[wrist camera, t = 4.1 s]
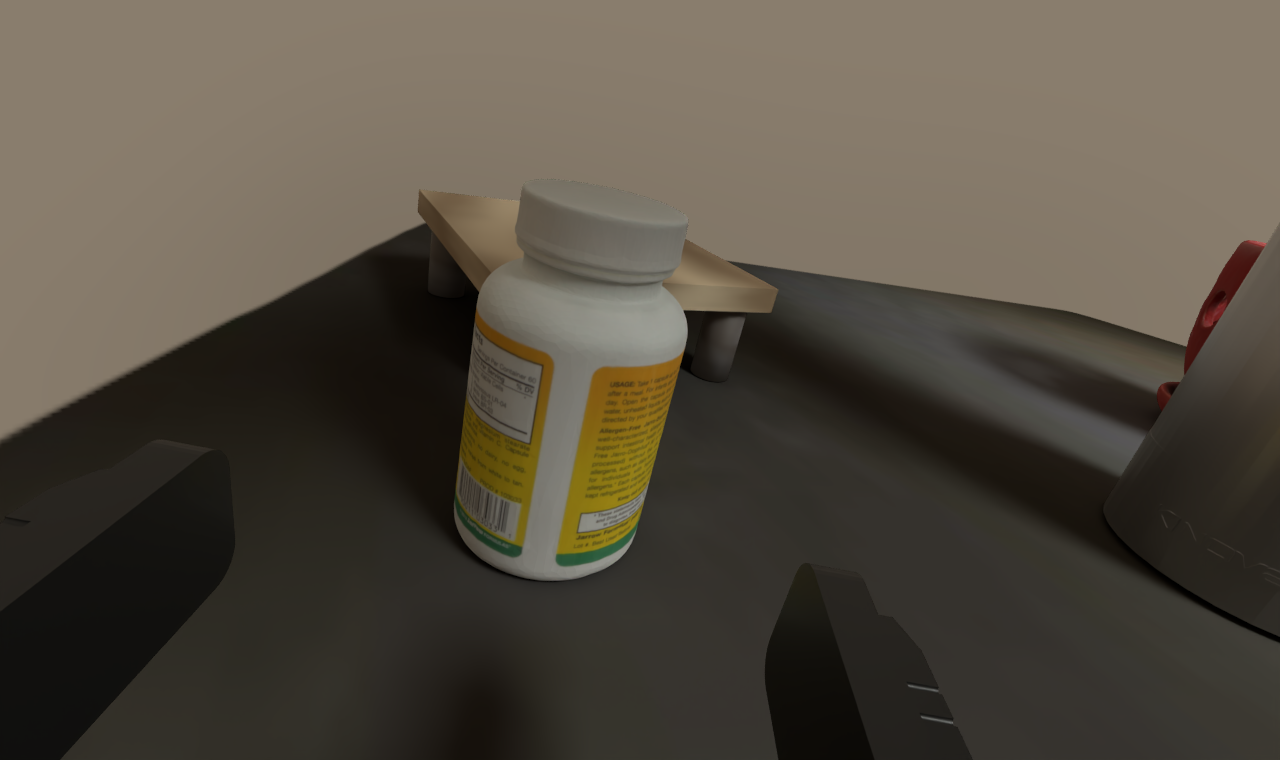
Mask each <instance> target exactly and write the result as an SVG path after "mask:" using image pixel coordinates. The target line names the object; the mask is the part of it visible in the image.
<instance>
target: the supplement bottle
mask: <svg viewBox="0 0 1280 760" xmlns="http://www.w3.org/2000/svg"><path fill="white" fill-rule="evenodd" d="M687 227H688V218H687V216H686V215H685V214H684V213H682V212H681V211H679V210H677V209H675V208H674V207H671V206H669V205H667V204H665V203H663V202H659V201H657V200H654V199H650V198H648V197H645V196H641V195H637V194H634V193H630V192H626V191H622V190H618V189H615V188H609V187H605V186H599V185H594V184H588V183H582V182H575V181H567V180H556V179H540V180H539V179H538V180H531V181H527V182H525V183H524V184H523V187H522V191H521V198H520V204H519V211H518V217H517V222H516V225H515V233H516V235H517V239H516V242H517V244H518V246H519V247H520V248H521V249H522V250H523V251H524V256H523V258H519V259H516V260H512V261H509V262H507V263H505V264H503V265H501V266H500V267H498V268H497V269H495V270H494V271H493V272H492V273H491V274H490V275H489V276H488V277H487V279H486V280H485V282H484V283H483V285H482V287H481V290H480V293H479V296H478V301H477V307H476V316H475V324H474V333H473V342H472V350H471V359H470V367H469V376H468V385H467V394H466V402H465V411H464V419H463V428H462V438H461V445H460V455H459V464H458V472H457V480H456V489H455V500H454V517H455V522H456V526H457V529H458V531H459V533H460V535H461V537H462V539H463V540H464V542H465V543H466V545H467V546H468V547H469V548H470V549H471V550H472V551H473V553H475V554H476V555H477V556H478V557H479V558H481V559H482V560H484V561H485V562H487V563H488V564H490V565H492V566H493V567H495V568H497V569H499V570H501V571H504V572H506V573H509V574H512V575H515V576H518V577H522V578H526V579H533V580H541V581H563V580H571V579H576V578H581V577H584V576H587V575H589V574H592V573H595V572H598V571H600V570H603V569H605V568H607V567H608V566H610V565H611V564H613V563H615V562H616V561H617V560H618V559H620V558H621V557H622V555H623V554H624V553H625V552H626V551H627V549H628V548H629V546H630V544H631V543H632V540H633V538H634V535H635V533H636V529H637V525H638V522H639V518H640V515H641V511H642V507H643V503H644V499H645V496H646V492H647V488H648V484H649V480H650V476H651V472H652V468H653V465H654V461H655V457H656V453H657V449H658V446H659V442H660V438H661V435H662V431H663V427H664V423H665V420H666V416H667V412H668V408H669V405H670V401H671V398H672V394H673V390H674V387H675V384H676V379H677V376H678V372H679V368H680V365H681V361H682V357H683V353H684V349H685V345H686V340H687V333H688V328H687V321H686V317H685V314H684V311H683V309H682V307H681V306H680V304H679V302H678V301H677V300H676V299H675V297H674V296H673V295H672V294H671V293H670V292H669V291H668V290H667V289H665V288H664V287H663V286H662V283H663V280H664V279H667V278H669V277H671V276H672V275H673V273H674V271H675V269H676V268H678V267H679V265H680V263H681V255H682V250H683V246H684V242H685V237H686V232H687Z"/></svg>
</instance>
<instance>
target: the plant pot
mask: <svg viewBox="0 0 1280 760" xmlns="http://www.w3.org/2000/svg"><path fill="white" fill-rule="evenodd" d="M1266 244H1267V243H1262V242H1257V241H1250V240H1248V241H1244V242H1242V243H1241V244H1240V245H1239V247H1238V248H1237V249H1236V251H1235V252H1234V254H1233V255H1232V257H1231V258H1230V260H1229V261H1228V262H1227V264H1226V265H1225V267H1224V268H1223V270H1222V272H1221V274H1220V275H1219V277H1218V279H1217V282H1216V284H1215V285H1214V287H1213V289H1212V291H1211V292H1210V294H1209V296H1208V297H1207V299H1206V300H1205V302H1204V304H1203V305H1202V308H1201V310H1200V312H1199V315H1198V317H1197V320H1196V322H1195V325H1194V327H1193V330H1192V332H1191V334H1190V337H1189V340H1188V345H1187V349H1186V354H1185V363H1184V375H1185V374H1186V372H1187V371H1188V369H1189V367H1190V366H1191V364H1192V363H1193V361H1194V359H1195V358H1196V356H1197V355H1198V353H1199V351H1200V350H1201V348H1202V347H1203V345H1204V343H1205V342H1206V340H1207V339H1208V337H1209V335H1210V334H1211V332H1212V331H1213V329H1214V327H1215V326H1216V324H1217V323H1218V321H1219V319H1220V318H1221V316H1222V315H1223V313H1224V311H1225V310H1226V308H1227V307H1228V305H1229V303H1230V302H1231V300H1232V299H1233V297H1234V295H1235V294H1236V292H1237V291H1238V289H1239V287H1240V286H1241V284H1242V283H1243V281H1244V279H1245V278H1246V276H1247V275H1248V273H1249V271H1250V270H1251V268H1252V267H1253V265H1254V263H1255V262H1256V260H1257V259H1258V257H1259V255H1260V254H1261V252H1262V250H1263V249H1264V247H1265V246H1266ZM1179 383H1180V382H1167V383H1164V384H1162V385H1161V386H1160V387H1159V389H1158V392H1157V402H1158V405H1159V407H1160V409H1161V411H1163V409H1164V407H1165V406H1166V404H1167V403H1168V401H1169V399H1170V398H1171V396H1172V395H1173V393H1174V391H1175V390H1176V388H1177V387H1178V385H1179Z"/></svg>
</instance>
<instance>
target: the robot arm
mask: <svg viewBox="0 0 1280 760" xmlns="http://www.w3.org/2000/svg"><path fill="white" fill-rule="evenodd" d="M1103 513H1104V515H1105V518H1106V520H1107V522H1108V524H1109V525H1110V526H1111V528H1112V529H1113V530H1114V531H1115V533H1116V534H1117V535H1118V537H1120V538H1121V539H1122V540H1123V541H1124V542H1125V543H1126V544H1127V545H1128V546H1129V547H1130V548H1131V549H1132V550H1133V551H1134V552H1135V553H1137V554H1138V555H1139V556H1140V557H1142V558H1143V559H1144V560H1145V561H1147V562H1148V563H1149V564H1151V565H1152V566H1153V567H1154V568H1156V569H1157V570H1158V571H1160V572H1161V573H1163V574H1164V575H1166V576H1167V577H1169V578H1170V579H1172V580H1173V581H1175V582H1176V583H1178V584H1179V585H1181V586H1182V587H1184V588H1185V589H1187V590H1189V591H1190V592H1192V593H1194V594H1196V595H1197V596H1199V597H1201V598H1202V599H1204V600H1206V601H1208V602H1209V603H1211V604H1213V605H1214V606H1216V607H1218V608H1220V609H1222V610H1224V611H1226V612H1228V613H1230V614H1232V615H1234V616H1236V617H1238V618H1240V619H1242V620H1244V621H1245V622H1247V623H1249V624H1251V625H1254V626H1256V627H1258V628H1261V629H1263V630H1265V631H1268V632H1270V633H1272V634H1274V635H1277V636H1279V637H1280V223H1279V225H1278V226H1277V228H1276V230H1275V231H1274V233H1273V235H1272V236H1271V238H1270V240H1269V241H1268V243H1267V244H1266V246H1265V247H1264V249H1263V250H1262V252H1261V254H1260V255H1259V257H1258V259H1257V260H1256V262H1255V263H1254V265H1253V267H1252V268H1251V270H1250V271H1249V273H1248V275H1247V276H1246V278H1245V279H1244V281H1243V283H1242V284H1241V286H1240V287H1239V289H1238V291H1237V292H1236V294H1235V295H1234V297H1233V299H1232V300H1231V302H1230V303H1229V305H1228V307H1227V308H1226V310H1225V311H1224V313H1223V315H1222V316H1221V318H1220V319H1219V321H1218V323H1217V324H1216V326H1215V327H1214V329H1213V331H1212V332H1211V334H1210V335H1209V337H1208V339H1207V340H1206V342H1205V343H1204V345H1203V347H1202V348H1201V350H1200V351H1199V353H1198V355H1197V356H1196V358H1195V359H1194V361H1193V363H1192V364H1191V366H1190V367H1189V369H1188V371H1187V372H1186V374H1185V375H1184V377H1183V379H1182V380H1181V382H1180V383H1179V385H1178V387H1177V388H1176V390H1175V391H1174V393H1173V395H1172V396H1171V398H1170V399H1169V401H1168V403H1167V404H1166V406H1165V407H1164V409H1163V411H1162V412H1161V414H1160V415H1159V417H1158V419H1157V420H1156V422H1155V423H1154V425H1153V427H1152V428H1151V429H1150V431H1149V432H1148V434H1147V435H1146V437H1145V439H1144V440H1143V442H1142V443H1141V445H1140V447H1139V448H1138V450H1137V452H1136V453H1135V455H1134V456H1133V458H1132V460H1131V461H1130V463H1129V464H1128V466H1127V468H1126V469H1125V471H1124V472H1123V474H1122V476H1121V477H1120V479H1119V480H1118V482H1117V484H1116V485H1115V487H1114V488H1113V490H1112V492H1111V493H1110V495H1109V496H1108V498H1107V500H1106V501H1105V503H1104V508H1103ZM234 548H235V532H234V519H233V506H232V493H231V480H230V468H229V462H228V459H227V457H226V455H225V454H224V453H223V452H222V451H219V450H215V449H210V448H204V447H199V446H194V445H189V444H183V443H178V442H173V441H167V440H161V439H160V440H154V441H152V442H149V443H148V444H146V445H144V446H143V447H141V448H140V449H138V450H137V451H135V452H134V453H132V454H131V455H129V456H128V457H126V458H125V459H123V460H122V461H120V462H119V463H117V464H116V465H114V466H113V467H111V468H110V469H108V470H106V469H99V470H97V471H94V472H91V473H89V474H86V475H83V476H81V477H78V478H76V479H73V480H70V481H68V482H65V483H62V484H60V485H57V486H54V487H52V488H49V489H47V490H46V491H44V492H43V493H41V494H39V495H38V496H36V497H35V498H33V499H32V500H30V501H28V502H27V503H25V504H24V505H22V506H21V507H19V508H17V509H16V510H14V511H13V512H11V513H10V514H8V515H6V516H5V519H4V521H3V522H2V523H0V760H60V759H61V758H62V757H63V756H64V755H65V754H66V752H67V751H68V750H69V749H70V748H71V747H72V746H73V745H74V744H75V743H76V741H77V740H78V739H79V738H80V737H81V736H82V735H83V734H84V733H85V732H86V731H87V729H88V728H89V727H90V726H91V725H92V724H93V723H94V722H95V721H96V720H97V718H98V717H99V716H100V715H101V714H102V713H103V712H104V711H105V710H106V709H107V707H108V706H109V705H110V704H111V703H112V702H113V701H114V700H115V699H116V698H117V696H118V695H119V694H120V693H121V692H122V691H123V690H124V689H125V688H126V687H127V685H128V684H129V683H130V682H131V681H132V680H133V679H134V678H135V677H136V676H137V674H138V673H139V672H140V671H141V670H142V669H143V668H144V667H145V666H146V665H147V664H148V662H149V661H150V660H151V659H152V658H153V657H154V656H155V655H156V654H157V653H158V651H159V650H160V649H161V648H162V647H163V646H164V645H165V644H166V643H167V642H168V640H169V639H170V638H171V637H172V636H173V635H174V634H175V633H176V632H177V631H178V629H179V628H180V627H181V626H182V625H183V624H184V623H185V622H186V621H187V620H188V618H189V617H190V616H191V615H192V614H193V613H194V612H195V611H196V610H197V609H198V607H199V606H200V605H201V604H202V603H203V602H204V601H205V600H206V599H207V598H208V597H209V595H210V594H211V593H212V592H213V591H214V590H215V589H216V588H217V586H218V585H219V584H220V582H221V581H222V579H223V578H224V576H225V574H226V572H227V570H228V568H229V566H230V563H231V560H232V557H233V553H234ZM765 685H766V691H767V697H768V703H769V708H770V714H771V720H772V726H773V731H774V737H775V743H776V748H777V754H778V760H973V759H972V757H971V755H970V753H969V751H968V748H967V746H966V744H965V742H964V740H963V738H962V736H961V734H960V731H959V729H958V727H955V726H953V717H952V714H951V712H950V710H949V708H948V706H947V704H946V702H945V700H944V697H943V695H941V694H939V693H938V688H939V687H938V685H937V682H936V680H935V678H934V676H933V674H932V672H931V670H930V668H929V665H928V663H927V661H926V659H925V657H924V655H923V653H922V651H921V649H920V648H919V647H918V646H917V645H916V644H915V643H914V641H913V640H912V639H911V638H910V637H909V636H908V634H907V633H906V632H905V631H904V630H903V629H902V628H901V626H900V625H899V624H898V623H897V622H896V621H895V620H894V618H893V617H887V616H882V615H878V613H877V610H876V608H875V606H874V603H873V601H872V598H871V596H870V594H869V591H868V589H867V586H866V584H865V582H864V580H863V578H862V577H861V575H860V574H858V573H856V572H851V571H846V570H840V569H835V568H830V567H825V566H819V565H814V564H809V563H804V564H803V565H801V567H800V568H799V569H798V571H797V573H796V575H795V578H794V580H793V583H792V585H791V588H790V590H789V593H788V595H787V598H786V600H785V603H784V605H783V608H782V610H781V613H780V615H779V618H778V620H777V623H776V625H775V628H774V630H773V633H772V635H771V638H770V641H769V644H768V648H767V653H766V661H765Z"/></svg>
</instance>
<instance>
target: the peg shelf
mask: <svg viewBox="0 0 1280 760" xmlns="http://www.w3.org/2000/svg"><path fill="white" fill-rule="evenodd" d="M519 204H520V201H512V200H504V199H495V198H487V197H478V196H469V195H461V194H453V193H444V192H436V191H427V190H419V200H418V213H419V214H420V215H421V216H422V218H423V219H424V221H425V222H426V223H427V224H428V226H429V227H430V228H431V230H432V234H431V248H430V262H429V276H428V292H429V293H431V294H433V295H435V296H439V297H444V298H459V297H462V296H464V293H465V283H466V275H467V277H468V278H469V279H470V281H471V282H472V283H473V285H474V286H475V287H476V288H477V290H478V291H479V292H480V290H481V287H482V285H483V283H484V282H485V280H486V279H487V277H488V276H489V275H490V274H491V273H492V272H493V271H494V270H495V269H497V268H498V267H500V266H501V265H503V264H505V263H507V262H509V261H512V260H516V259H519V258H523V256H524V251H523V250H522V249H521V248H520V247H519V246H518V244H517V242H516V239H517V235H516V233H515V225H516V222H517V217H518V211H519ZM662 286H663V287H664V288H665V289H667V290H668V291H669V292H670V293H671V294H672V295H673V296H674V297H675V299H676V300H677V301H678V302H679V304H680V306H681V307H682V309H683V310H697V311H705V315H704V319H703V323H702V327H701V330H700V334H699V338H698V342H697V345H696V349H695V353H694V357H693V361H692V364H691V368H690V370H691V372H692V373H693V374H694V375H696V376H697V377H699V378H702V379H704V380H708V381H712V382H724V381H726V380H727V379H728V376H729V373H730V369H731V366H732V362H733V359H734V355H735V352H736V349H737V345H738V342H739V338H740V335H741V332H742V328H743V325H744V321H745V318H746V314H747V312H761V313H771V312H772V308H773V305H774V302H775V299H776V295H777V292H778V289H777V288H775V287H773V286H771V285H769V284H767V283H765V282H764V281H762V280H760V279H758V278H756V277H754V276H753V275H751V274H749V273H747V272H745V271H743V270H742V269H740V268H738V267H736V266H734V265H732V264H731V263H729V262H727V261H725V260H723V259H721V258H719V257H718V256H716V255H714V254H712V253H710V252H708V251H706V250H705V249H703V248H701V247H699V246H697V245H695V244H694V243H692V242H690V241H688V240H686V239H685V242H684V246H683V250H682V255H681V263H680V265H679V267H678V268H676V269H675V271H674V273H673V275H672V276H671V277H669V278H667V279H664V280H663V283H662Z"/></svg>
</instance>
